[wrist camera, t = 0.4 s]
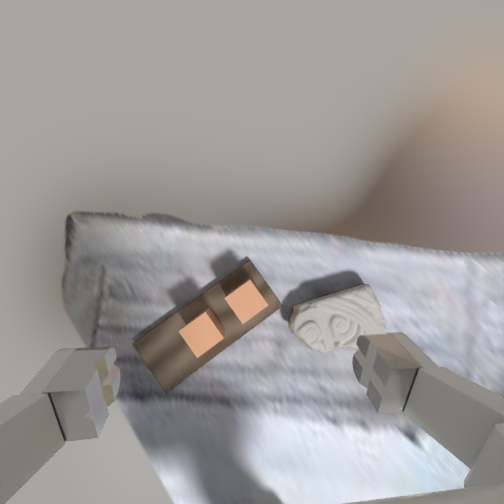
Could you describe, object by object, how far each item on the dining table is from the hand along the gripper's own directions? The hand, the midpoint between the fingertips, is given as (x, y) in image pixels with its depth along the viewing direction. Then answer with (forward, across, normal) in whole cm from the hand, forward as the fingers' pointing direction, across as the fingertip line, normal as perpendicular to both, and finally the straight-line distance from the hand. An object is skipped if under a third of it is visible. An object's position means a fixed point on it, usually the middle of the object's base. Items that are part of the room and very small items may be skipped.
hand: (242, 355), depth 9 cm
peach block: (+43, +4, -25) cm, 50 cm away
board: (+42, -4, -30) cm, 52 cm away
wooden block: (+41, -5, -30) cm, 51 cm away
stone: (+42, +26, -29) cm, 57 cm away
